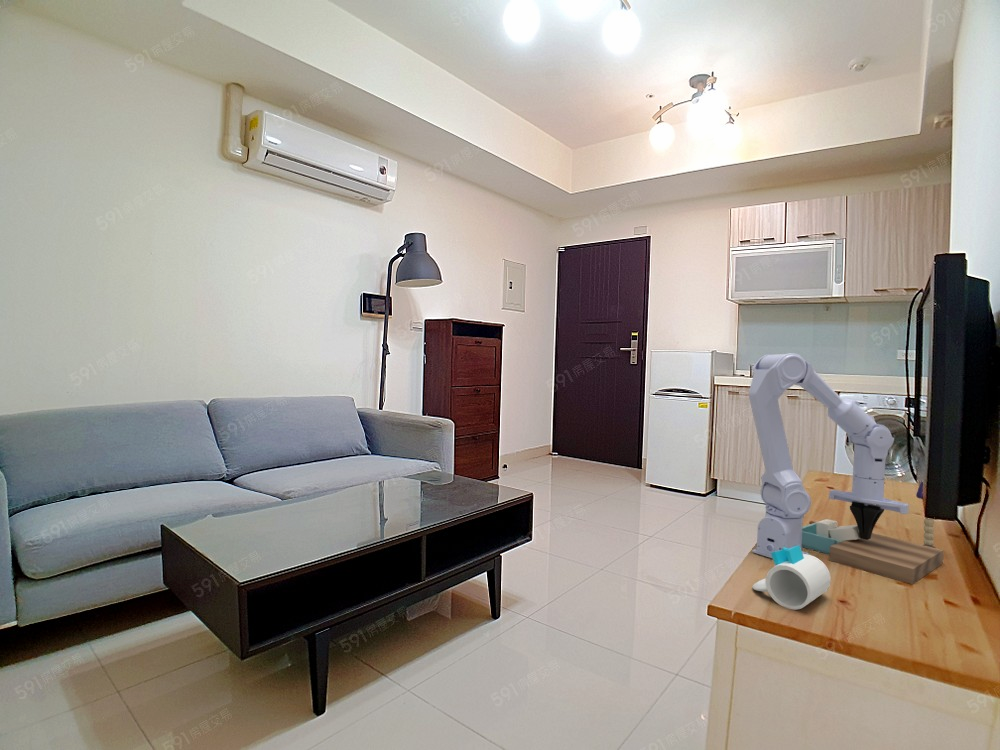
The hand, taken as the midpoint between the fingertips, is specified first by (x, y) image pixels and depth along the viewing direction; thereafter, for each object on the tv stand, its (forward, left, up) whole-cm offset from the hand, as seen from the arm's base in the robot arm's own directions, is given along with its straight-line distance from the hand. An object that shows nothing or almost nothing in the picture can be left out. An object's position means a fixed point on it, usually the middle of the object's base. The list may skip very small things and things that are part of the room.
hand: (865, 538), depth 116 cm
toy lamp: (+15, -7, -4) cm, 17 cm away
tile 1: (0, +6, -1) cm, 6 cm away
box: (0, +8, -4) cm, 9 cm away
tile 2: (0, +3, -1) cm, 3 cm away
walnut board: (0, -4, -4) cm, 6 cm away
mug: (-36, 0, -4) cm, 36 cm away
